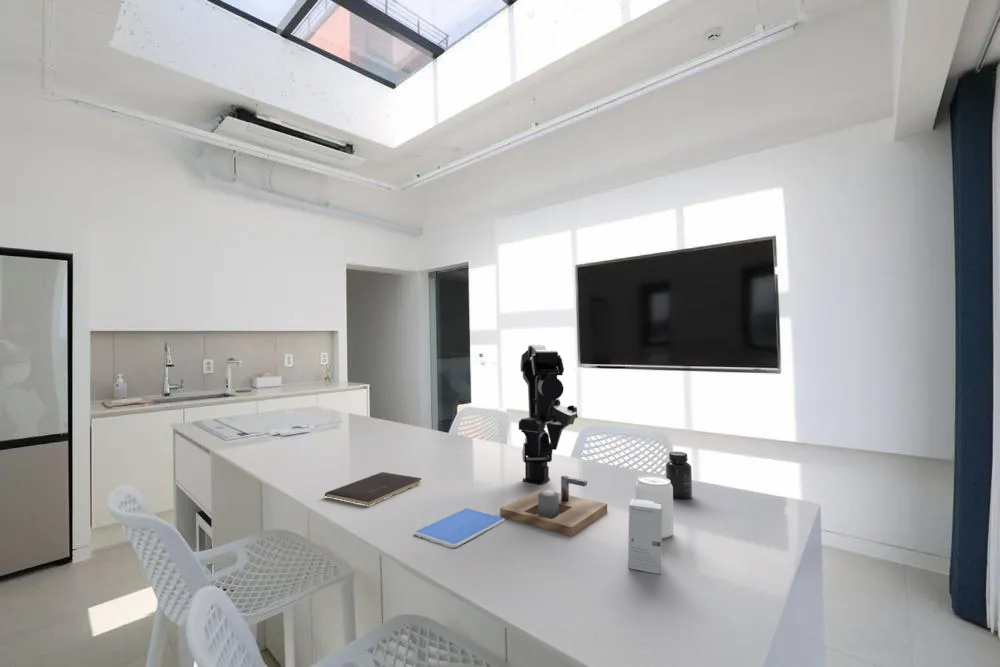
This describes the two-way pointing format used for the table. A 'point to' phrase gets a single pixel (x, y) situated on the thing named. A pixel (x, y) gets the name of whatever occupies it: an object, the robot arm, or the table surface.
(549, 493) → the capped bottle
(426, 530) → the tablet computer
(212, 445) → the table surface
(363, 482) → the hardcover book
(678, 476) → the supplement bottle
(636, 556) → the skincare box
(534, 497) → the base board
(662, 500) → the beverage can
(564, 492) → the hook post
